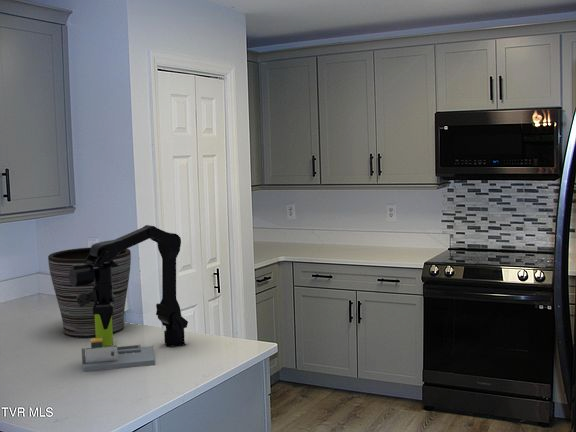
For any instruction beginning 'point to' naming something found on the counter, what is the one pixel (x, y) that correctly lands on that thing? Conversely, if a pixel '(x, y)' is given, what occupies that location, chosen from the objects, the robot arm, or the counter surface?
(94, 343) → the fader knob
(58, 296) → the planter pot
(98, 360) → the rack door
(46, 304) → the counter surface
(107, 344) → the soap dispenser
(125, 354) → the console
